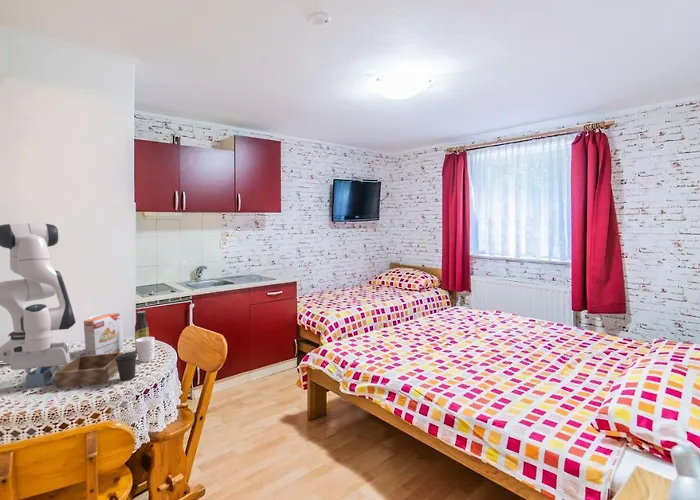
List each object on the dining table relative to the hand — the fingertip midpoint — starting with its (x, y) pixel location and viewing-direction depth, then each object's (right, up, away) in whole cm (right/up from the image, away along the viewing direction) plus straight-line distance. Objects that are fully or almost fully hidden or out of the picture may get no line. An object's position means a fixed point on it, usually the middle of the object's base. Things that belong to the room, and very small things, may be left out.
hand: (42, 377), depth 159 cm
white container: (+2, +1, +40) cm, 40 cm away
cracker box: (+10, 0, +24) cm, 26 cm away
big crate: (+17, -1, +5) cm, 18 cm away
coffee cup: (+35, -1, +1) cm, 35 cm away
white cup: (+31, 0, +23) cm, 39 cm away
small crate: (0, -2, 0) cm, 2 cm away
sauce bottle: (+22, +1, +36) cm, 43 cm away
